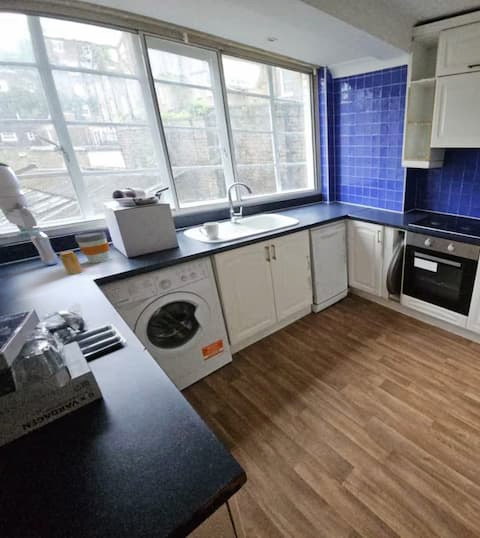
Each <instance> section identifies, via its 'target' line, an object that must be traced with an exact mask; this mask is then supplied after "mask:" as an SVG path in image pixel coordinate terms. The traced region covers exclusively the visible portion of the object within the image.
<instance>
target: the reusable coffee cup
mask: <svg viewBox="0 0 480 538" xmlns="http://www.w3.org/2000/svg"><path fill="white" fill-rule="evenodd" d="M74 239H75V241H76V242H75V243H77V244H78V247H79V249H80V251H81V252H82V254H83V255H84V256H85V258H86V259H87V261H88V262H89V264H99V263H104V262H107V261H109V260H111V253H110V244H109V241H108V239H107V235H106V232H105V231H103V230H93V231H86V232H82V233H78V234H76V235H74Z"/></svg>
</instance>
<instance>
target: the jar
mask: <svg viewBox="0 0 480 538" xmlns="http://www.w3.org/2000/svg"><path fill="white" fill-rule="evenodd" d="M74 252H75V251H73V250H67V251H63V252H60V253H59V260H60V261H61V263H62V265H63V268H64V269H65V271H66V274H67V275H69V274H70V275H69V276H72V275H76V274H75V273H77V274H80V273H82V272H83V271H84V270H83V267H82V265H81V263H80V261H79V258H78V256H77V254H76V253H74ZM81 271H82V272H81ZM79 272H80V273H79Z"/></svg>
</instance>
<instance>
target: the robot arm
mask: <svg viewBox="0 0 480 538" xmlns="http://www.w3.org/2000/svg"><path fill="white" fill-rule="evenodd" d="M30 206H31V203H30V202H29V200H28V197H27V195H26V193H25V192H24V191H23V189H22V187H21V183H20V180H19V179H18V176H17V174H16V173H15V171H14V170H13V168H12V167H11V166H10V165H9V164H6V163H4V162H0V210H1V212H2V213H3V215H4V217H5V218H6V220H7V221H8V222H9V223H10V224H13V225H16V227H17V229H19V232H22V231H27V234H28V236H35V234H34V230H33V228H34V227H38V222H37V221H36V219H35V216H34V215H33V213H32V211H31V210H30V209H29V208H28V207H30Z"/></svg>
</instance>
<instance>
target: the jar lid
mask: <svg viewBox="0 0 480 538" xmlns="http://www.w3.org/2000/svg"><path fill="white" fill-rule="evenodd" d="M16 234H17V238H20V239H21V238H22V239H23V238H24V239H25V238H31V237H32V236H28V234H27V231H22V232H21V231H19V232H18V231H17V232H16ZM34 234H35V236H36V235H39V232H38V231H37V230H34Z"/></svg>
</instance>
